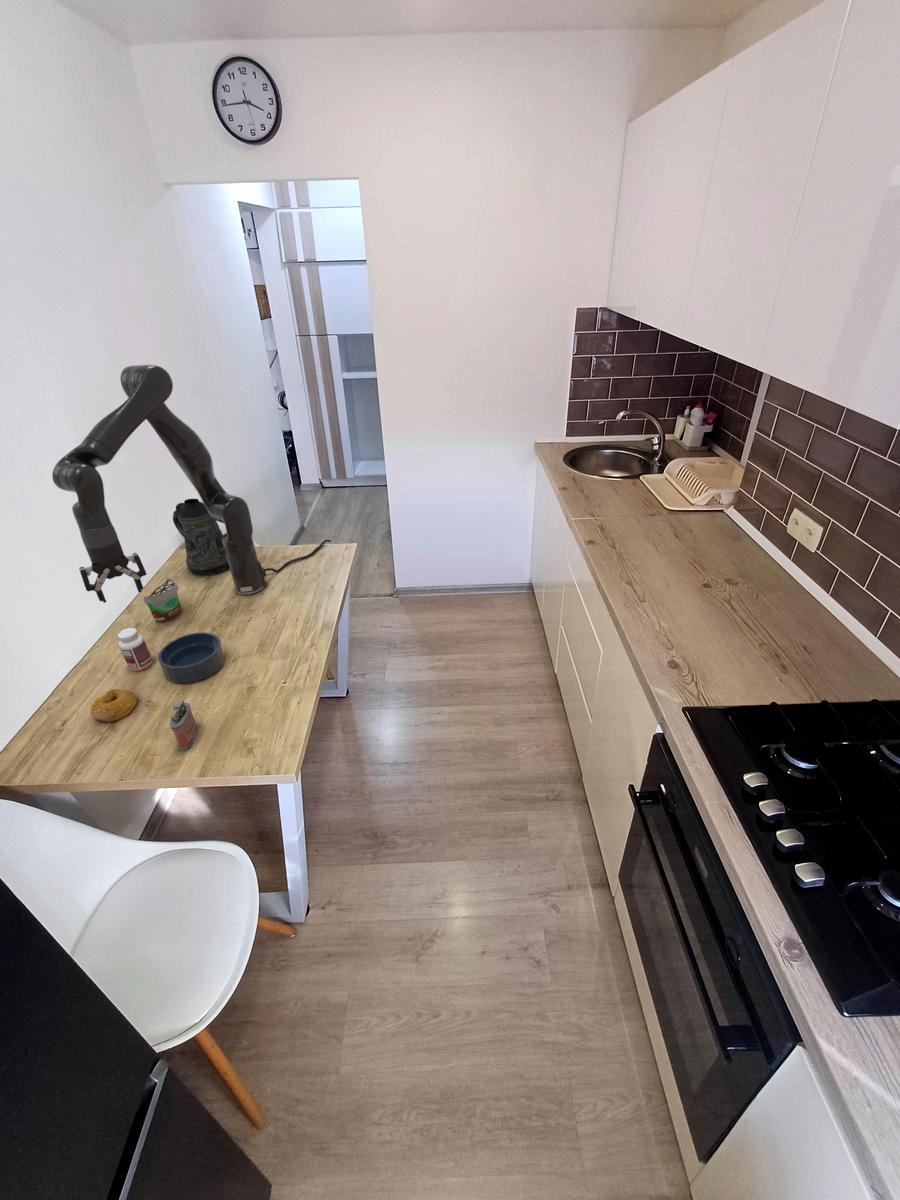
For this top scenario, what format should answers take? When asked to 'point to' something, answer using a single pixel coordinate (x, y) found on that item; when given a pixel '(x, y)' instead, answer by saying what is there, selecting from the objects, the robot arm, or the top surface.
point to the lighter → (183, 725)
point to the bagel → (113, 705)
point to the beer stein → (200, 538)
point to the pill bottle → (134, 649)
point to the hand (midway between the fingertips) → (122, 596)
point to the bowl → (191, 657)
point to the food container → (164, 602)
